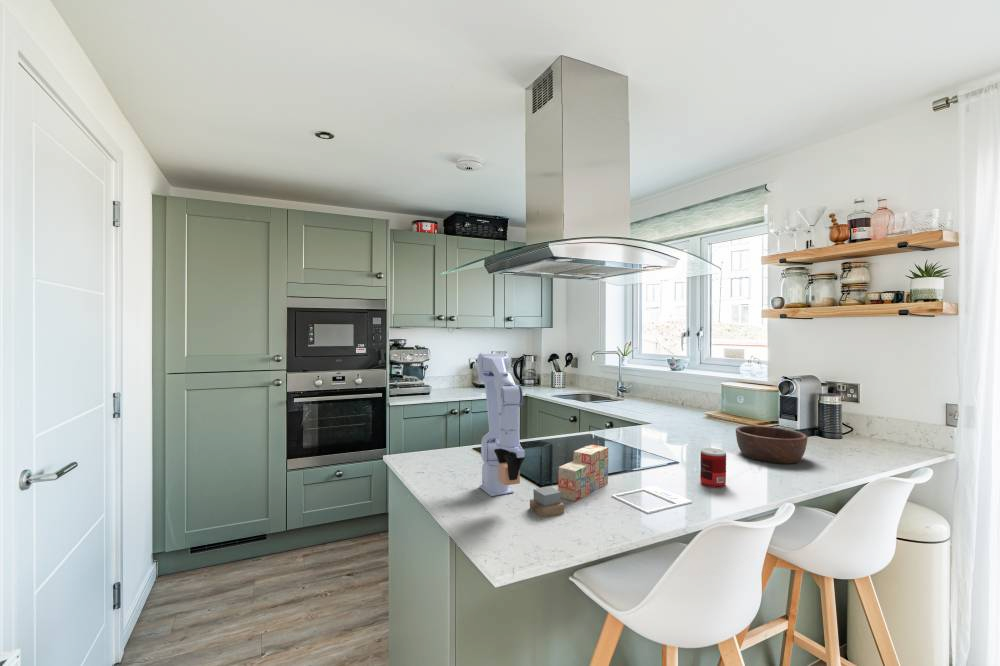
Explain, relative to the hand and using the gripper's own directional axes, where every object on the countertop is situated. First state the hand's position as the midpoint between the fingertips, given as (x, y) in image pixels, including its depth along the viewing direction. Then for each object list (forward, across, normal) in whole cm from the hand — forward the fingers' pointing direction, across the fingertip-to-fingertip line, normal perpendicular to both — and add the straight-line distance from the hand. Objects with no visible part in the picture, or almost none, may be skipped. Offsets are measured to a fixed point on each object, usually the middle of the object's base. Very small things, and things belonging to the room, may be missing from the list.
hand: (509, 476), depth 129 cm
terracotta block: (+2, 0, 0) cm, 2 cm away
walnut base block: (+10, +5, +10) cm, 15 cm away
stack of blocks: (+10, -5, +29) cm, 31 cm away
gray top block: (+7, +5, +10) cm, 13 cm away
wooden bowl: (+10, -5, +121) cm, 121 cm away
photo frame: (+10, +11, +43) cm, 45 cm away
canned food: (+10, +8, +72) cm, 73 cm away
